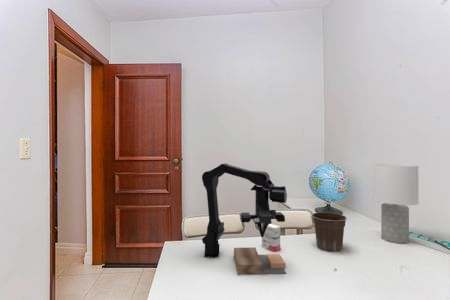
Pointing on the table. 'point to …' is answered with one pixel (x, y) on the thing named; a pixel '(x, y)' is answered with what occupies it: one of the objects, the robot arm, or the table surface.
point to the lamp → (395, 198)
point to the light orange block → (275, 261)
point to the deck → (247, 261)
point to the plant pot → (329, 230)
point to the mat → (268, 269)
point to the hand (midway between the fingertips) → (262, 236)
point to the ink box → (271, 238)
